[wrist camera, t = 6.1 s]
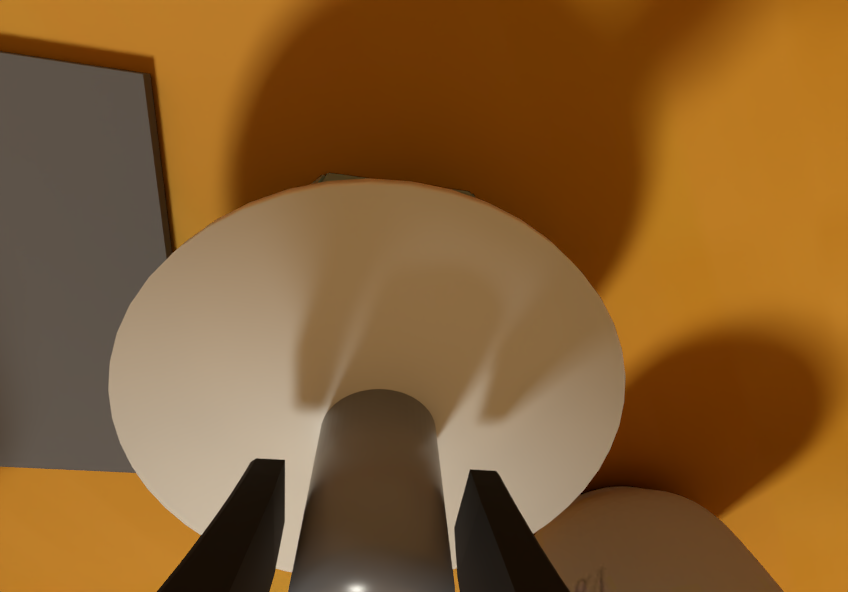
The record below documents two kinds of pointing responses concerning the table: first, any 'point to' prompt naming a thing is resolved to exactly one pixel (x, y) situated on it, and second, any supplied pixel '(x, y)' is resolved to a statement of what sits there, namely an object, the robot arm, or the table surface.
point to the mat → (71, 251)
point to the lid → (367, 374)
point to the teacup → (648, 546)
